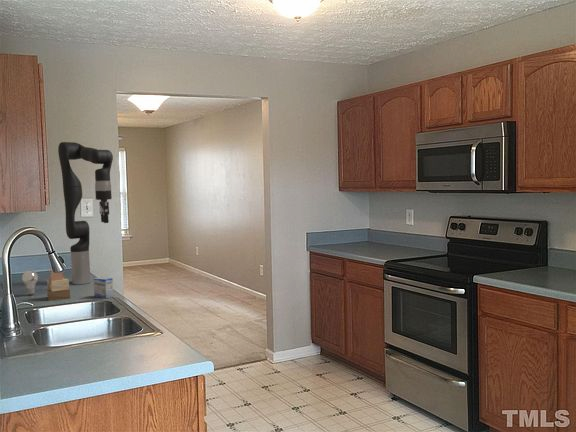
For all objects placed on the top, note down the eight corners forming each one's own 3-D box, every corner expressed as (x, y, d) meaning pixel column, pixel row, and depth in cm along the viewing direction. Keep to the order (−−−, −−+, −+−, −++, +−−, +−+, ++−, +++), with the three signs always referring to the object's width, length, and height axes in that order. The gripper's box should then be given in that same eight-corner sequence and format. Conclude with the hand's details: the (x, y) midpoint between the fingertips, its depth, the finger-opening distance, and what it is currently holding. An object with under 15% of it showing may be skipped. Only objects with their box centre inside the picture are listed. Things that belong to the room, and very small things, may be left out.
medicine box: (94, 297, 256) (93, 278, 256) (101, 295, 260) (100, 276, 260) (106, 298, 253) (105, 279, 252) (113, 296, 256) (112, 277, 256)
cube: (50, 279, 257) (50, 268, 257) (62, 278, 259) (61, 267, 259) (51, 280, 253) (51, 270, 252) (63, 279, 255) (62, 268, 255)
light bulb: (35, 293, 270) (34, 268, 270) (41, 294, 265) (40, 270, 265) (20, 295, 265) (19, 270, 265) (26, 297, 260) (24, 271, 260)
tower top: (47, 289, 257) (47, 279, 256) (64, 287, 261) (63, 277, 261) (52, 291, 251) (51, 281, 250) (69, 289, 255) (68, 279, 255)
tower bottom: (47, 298, 258) (47, 288, 258) (68, 296, 262) (67, 286, 262) (48, 301, 250) (48, 291, 250) (70, 299, 254) (69, 289, 254)
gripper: (93, 190, 279) (95, 222, 280) (97, 190, 266) (99, 223, 267) (108, 189, 283) (110, 221, 283) (113, 189, 270) (115, 222, 271)
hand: (104, 222), depth 275 cm, fingers open, 8 cm apart
